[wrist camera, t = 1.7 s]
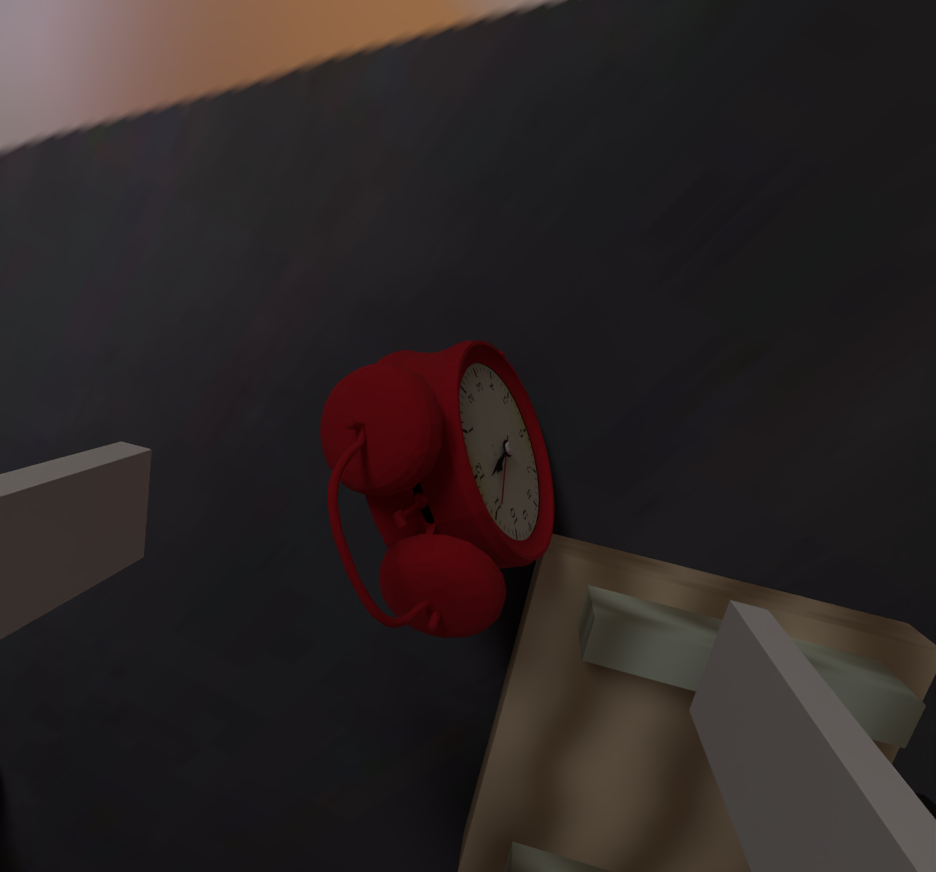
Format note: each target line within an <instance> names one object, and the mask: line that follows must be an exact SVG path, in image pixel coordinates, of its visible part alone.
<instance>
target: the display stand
mask: <svg viewBox="0 0 936 872" xmlns="http://www.w3.org/2000/svg"><path fill="white" fill-rule="evenodd" d="M730 600H732V601H736V602H740V603H744V604H747V605H751V606H755V607H759V608H763V609H767V610H768V611H769V612H770V613H771V614H772V616H773V617H774V618H775V619H776V621H777V622H778V623H779V624H780V626H781V627H782V628H783V629H784V631H785V632H786V633H787V634H788V636H789V637H790V638H791V639H792V641H793V642H794V643H795V644H796V646H797V647H798V648H799V649H800V651H801V652H802V653H803V654H804V656H805V657H806V658H807V659H808V661H809V662H810V663H811V664H812V666H813V667H814V668H815V669H816V671H817V672H818V673H819V674H820V676H821V677H822V678H823V679H824V681H825V682H826V683H827V684H828V686H829V687H830V688H831V689H832V691H833V692H834V693H835V694H836V696H837V697H838V698H839V699H840V701H841V702H842V703H843V704H844V706H845V707H846V708H847V709H848V711H849V712H850V713H851V714H852V716H853V717H854V718H855V719H856V721H857V722H858V723H859V724H860V726H861V727H862V728H863V729H864V731H865V732H866V733H867V734H868V736H869V737H870V738H871V739H872V741H873V742H874V743H875V744H876V746H877V747H878V748H879V749H880V751H881V752H882V753H883V754H884V756H885V757H886V758H887V759H888V761H889V762H890V763H891V764H892V762H893V760H894V758H895V756H896V754H897V752H898V750H899V748H900V747H902V748H906V746H907V744H908V741H909V739H910V737H911V735H912V733H913V731H914V729H915V727H916V725H917V723H918V721H919V719H920V717H921V715H922V713H923V711H924V709H925V707H926V705H925V704H924V703H923V702H922V700H923V698H924V696H925V694H926V692H927V690H928V688H929V686H930V684H931V682H932V680H933V678H934V676H935V674H936V645H935V644H933V643H932V642H931V641H930V640H928V639H927V638H926V637H925V636H923V635H922V634H921V633H919V632H918V631H917V630H916V629H914V628H913V627H912V626H911V625H909V624H908V623H904V622H900V621H896V620H892V619H888V618H885V617H881V616H877V615H873V614H869V613H865V612H861V611H857V610H853V609H849V608H845V607H841V606H837V605H833V604H829V603H825V602H821V601H817V600H813V599H809V598H805V597H801V596H798V595H794V594H790V593H786V592H782V591H778V590H774V589H770V588H766V587H762V586H758V585H754V584H750V583H746V582H742V581H738V580H734V579H730V578H726V577H722V576H718V575H714V574H710V573H707V572H703V571H699V570H695V569H691V568H687V567H683V566H679V565H675V564H671V563H667V562H663V561H659V560H655V559H651V558H647V557H643V556H639V555H635V554H631V553H627V552H623V551H620V550H616V549H612V548H608V547H604V546H600V545H596V544H592V543H588V542H584V541H580V540H576V539H572V538H568V537H564V536H560V535H556V534H552V537H551V542H550V544H549V547H548V549H547V551H546V552H545V554H544V555H543V556H542V557H541V558H539V559H537V560H536V564H535V568H534V571H533V575H532V579H531V582H530V586H529V590H528V594H527V597H526V601H525V605H524V609H523V612H522V616H521V620H520V624H519V627H518V631H517V635H516V639H515V642H514V646H513V650H512V654H511V657H510V661H509V665H508V669H507V672H506V676H505V680H504V684H503V687H502V691H501V695H500V699H499V702H498V706H497V710H496V714H495V717H494V721H493V725H492V728H491V732H490V736H489V740H488V743H487V747H486V751H485V755H484V758H483V762H482V766H481V770H480V773H479V777H478V781H477V785H476V788H475V792H474V796H473V800H472V803H471V807H470V811H469V815H468V818H467V822H466V826H465V830H464V833H463V840H462V847H461V854H460V861H459V868H458V872H751V870H750V867H749V865H748V862H747V860H746V857H745V854H744V852H743V849H742V847H741V844H740V841H739V839H738V836H737V834H736V831H735V828H734V826H733V823H732V821H731V818H730V815H729V813H728V810H727V808H726V805H725V802H724V800H723V797H722V795H721V792H720V789H719V787H718V784H717V782H716V779H715V776H714V774H713V771H712V768H711V766H710V763H709V761H708V758H707V755H706V753H705V750H704V748H703V745H702V742H701V740H700V737H699V735H698V732H697V729H696V727H695V724H694V722H693V719H692V716H691V714H690V711H689V709H690V707H691V704H692V701H693V699H694V696H695V693H696V691H697V688H698V685H699V683H700V680H701V677H702V674H703V672H704V669H705V666H706V664H707V661H708V658H709V656H710V653H711V650H712V647H713V645H714V642H715V639H716V637H717V634H718V631H719V629H720V626H721V623H722V621H723V618H724V615H725V612H726V610H727V607H728V604H729V602H730Z"/></svg>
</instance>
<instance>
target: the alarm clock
mask: <svg viewBox="0 0 936 872" xmlns="http://www.w3.org/2000/svg"><path fill="white" fill-rule="evenodd" d="M320 433H321V444H322V448H323V452H324V456H325V458H326V461H327V463H328V465H329V467H330V468H331V470H332V474H331V477H330V481H329V484H328V510H329V517H330V523H331V528H332V533H333V537H334V540H335V543H336V546H337V548H338V551H339V554H340V557H341V559H342V562H343V565H344V568H345V570H346V573H347V575H348V577H349V579H350V581H351V583H352V585H353V587H354V589H355V591H356V592H357V594H358V596H359V598H360V600H361V602H362V603H363V605H364V606H365V608H366V609H367V610H368V612H369V613H370V614H371V615H372V616H373V617H374V618H375V619H377V620H378V621H379V622H380V623H382V624H383V625H385V626H388V627H391V628H395V627H401V626H405V625H406V624H408V625H409V626H410V627H412V628H414V629H416V630H418V631H421V632H423V633H425V634H427V635H432V636H438V637H443V638H453V637H466V636H471V635H474V634H477V633H480V632H482V631H483V630H485V629H487V628H488V627H489V626H490V625H492V624H493V623H494V622H495V621H496V619H497V618H498V617H499V615H500V612H501V610H502V607H503V605H504V602H505V598H506V593H507V591H506V586H505V582H504V577H503V574H502V573H501V571H500V570H499V569H503V568H509V567H519V566H526V565H528V564H530V563H532V562H533V561H535V560H537V559H539V558H541V557H542V556H543V555H544V554H545V552H546V551H547V549H548V547H549V544H550V542H551V537H552V533H553V527H554V492H553V483H552V475H551V469H550V463H549V459H548V454H547V450H546V446H545V442H544V438H543V435H542V431H541V428H540V426H539V423H538V420H537V417H536V414H535V411H534V409H533V406H532V404H531V401H530V399H529V397H528V394H527V392H526V390H525V388H524V386H523V384H522V383H521V381H520V379H519V377H518V375H517V374H516V372H515V370H514V369H513V367H512V366H511V364H510V363H509V362H508V360H507V359H506V358H505V355H504V353H503V352H501V351H499V350H498V349H497V348H495V347H494V346H493V345H491V344H489V343H487V342H485V341H480V340H478V341H463V342H461V343H459V344H457V345H454V346H452V347H450V348H448V349H445V350H442V351H440V352H437V353H421V352H416V351H409V350H403V351H398V352H395V353H392V354H390V355H387V356H385V357H383V358H382V359H380V360H379V361H378V362H377V363H376V364H371V365H368V366H364V367H361V368H359V369H357V370H355V371H353V372H352V373H350V374H349V375H347V376H346V377H345V378H344V379H342V380H341V381H340V382H339V383H338V384H337V385H336V386H335V387H334V388H333V390H332V391H331V393H330V395H329V397H328V399H327V401H326V402H325V406H324V410H323V414H322V418H321V429H320ZM339 480H340V481H341V482H342V484H343V485H344V486H346V487H348V488H349V489H351V490H353V491H356V492H359V493H362V494H365V496H366V499H367V502H368V505H369V508H370V511H371V513H372V516H373V518H374V521H375V523H376V526H377V528H378V530H379V532H380V534H381V536H382V538H383V540H384V542H385V544H386V545H387V547H388V548H389V549H388V550H387V551H386V553H385V556H384V558H383V560H382V563H381V567H380V573H379V584H380V589H381V593H382V596H383V598H384V600H385V602H386V604H387V605H388V607H389V608H390V609H391V611H392V612H393V613H394V614H395V615H396V616H397V617H399V618H392V617H390V616H387V615H386V614H384V613H383V612H382V611H381V610H380V608H379V607H378V606H377V605H376V604H375V602H374V601H373V600H372V598H371V596H370V595H369V593H368V591H367V590H366V588H365V586H364V584H363V583H362V581H361V579H360V578H359V575H358V573H357V570H356V567H355V565H354V562H353V559H352V557H351V554H350V551H349V549H348V546H347V543H346V541H345V538H344V535H343V532H342V526H341V520H340V514H339V508H338V502H337V498H338V488H339Z"/></svg>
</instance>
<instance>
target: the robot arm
mask: <svg viewBox="0 0 936 872" xmlns="http://www.w3.org/2000/svg"><path fill="white" fill-rule="evenodd" d="M150 463H151V449H148V448H144V447H140V446H136V445H132V444H128V443H125V442H118V443H114V444H111V445H107V446H103V447H100V448H96V449H92V450H89V451H85V452H81V453H77V454H74V455H70V456H66V457H63V458H59V459H55V460H52V461H48V462H44V463H41V464H37V465H33V466H29V467H26V468H22V469H18V470H15V471H11V472H7V473H4V474H0V639H2V638H4V637H6V636H7V635H9V634H11V633H13V632H14V631H16V630H18V629H20V628H21V627H23V626H25V625H26V624H28V623H30V622H32V621H33V620H35V619H37V618H39V617H40V616H42V615H44V614H46V613H47V612H49V611H51V610H53V609H54V608H56V607H58V606H59V605H61V604H63V603H65V602H66V601H68V600H70V599H72V598H73V597H75V596H77V595H79V594H80V593H82V592H84V591H86V590H87V589H89V588H91V587H93V586H94V585H96V584H98V583H99V582H101V581H103V580H105V579H106V578H108V577H110V576H112V575H113V574H115V573H117V572H119V571H120V570H122V569H124V568H126V567H127V566H129V565H131V564H132V563H134V562H136V561H138V560H139V559H141V558H143V557H144V545H145V531H146V518H147V504H148V490H149V477H150ZM689 711H690V714H691V716H692V719H693V722H694V724H695V727H696V729H697V732H698V735H699V737H700V740H701V742H702V745H703V748H704V750H705V753H706V755H707V758H708V761H709V763H710V766H711V768H712V771H713V774H714V776H715V779H716V782H717V784H718V787H719V789H720V792H721V795H722V797H723V800H724V802H725V805H726V808H727V810H728V813H729V815H730V818H731V821H732V823H733V826H734V828H735V831H736V834H737V836H738V839H739V841H740V844H741V847H742V849H743V852H744V854H745V857H746V860H747V862H748V865H749V867H750V870H751V872H936V805H935V804H934V803H933V802H932V801H931V800H929V799H928V798H927V797H926V796H925V795H922V794H918V793H915V792H913V791H912V789H911V788H910V787H909V786H908V784H907V783H906V782H905V781H904V779H903V778H902V777H901V776H900V774H899V773H898V772H897V771H896V769H895V768H894V767H893V766H892V764H891V763H890V762H889V761H888V759H887V758H886V757H885V756H884V754H883V753H882V752H881V751H880V749H879V748H878V747H877V746H876V744H875V743H874V742H873V741H872V739H871V738H870V737H869V736H868V734H867V733H866V732H865V731H864V729H863V728H862V727H861V726H860V724H859V723H858V722H857V721H856V719H855V718H854V717H853V716H852V714H851V713H850V712H849V711H848V709H847V708H846V707H845V706H844V704H843V703H842V702H841V701H840V699H839V698H838V697H837V696H836V694H835V693H834V692H833V691H832V689H831V688H830V687H829V686H828V684H827V683H826V682H825V681H824V679H823V678H822V677H821V676H820V674H819V673H818V672H817V671H816V669H815V668H814V667H813V666H812V664H811V663H810V662H809V661H808V659H807V658H806V657H805V656H804V654H803V653H802V652H801V651H800V649H799V648H798V647H797V646H796V644H795V643H794V642H793V641H792V639H791V638H790V637H789V636H788V634H787V633H786V632H785V631H784V629H783V628H782V627H781V626H780V624H779V623H778V622H777V621H776V619H775V618H774V617H773V616H772V614H771V613H770V612H769V611H768V610H767V609H763V608H759V607H755V606H751V605H747V604H744V603H740V602H736V601H732V600H730V602H729V604H728V607H727V610H726V612H725V615H724V618H723V621H722V623H721V626H720V629H719V631H718V634H717V637H716V639H715V642H714V645H713V647H712V650H711V653H710V656H709V658H708V661H707V664H706V666H705V669H704V672H703V674H702V677H701V680H700V683H699V685H698V688H697V691H696V693H695V696H694V699H693V701H692V704H691V707H690V709H689Z"/></svg>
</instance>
